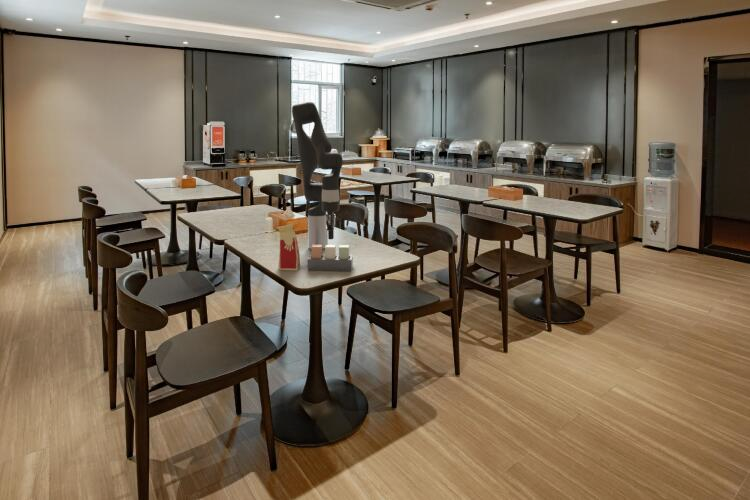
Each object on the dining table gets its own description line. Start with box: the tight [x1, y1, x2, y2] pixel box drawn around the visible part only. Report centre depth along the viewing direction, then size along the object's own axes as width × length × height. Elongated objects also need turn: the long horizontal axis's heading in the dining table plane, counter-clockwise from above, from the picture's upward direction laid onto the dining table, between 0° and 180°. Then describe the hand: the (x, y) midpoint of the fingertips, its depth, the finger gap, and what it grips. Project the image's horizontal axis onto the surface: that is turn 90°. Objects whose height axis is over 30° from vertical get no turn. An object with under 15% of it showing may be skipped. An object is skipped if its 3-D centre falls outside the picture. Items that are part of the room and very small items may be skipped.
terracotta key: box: [310, 245, 323, 259], centre depth 224 cm, size 4×4×7 cm
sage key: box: [338, 244, 350, 259], centre depth 224 cm, size 4×4×7 cm
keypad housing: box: [307, 253, 354, 272], centre depth 225 cm, size 19×9×5 cm, turn 89°
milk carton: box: [276, 223, 301, 271], centre depth 223 cm, size 9×9×20 cm
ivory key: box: [324, 244, 337, 259], centre depth 224 cm, size 4×4×7 cm
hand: (330, 238), depth 223 cm, fingers closed
